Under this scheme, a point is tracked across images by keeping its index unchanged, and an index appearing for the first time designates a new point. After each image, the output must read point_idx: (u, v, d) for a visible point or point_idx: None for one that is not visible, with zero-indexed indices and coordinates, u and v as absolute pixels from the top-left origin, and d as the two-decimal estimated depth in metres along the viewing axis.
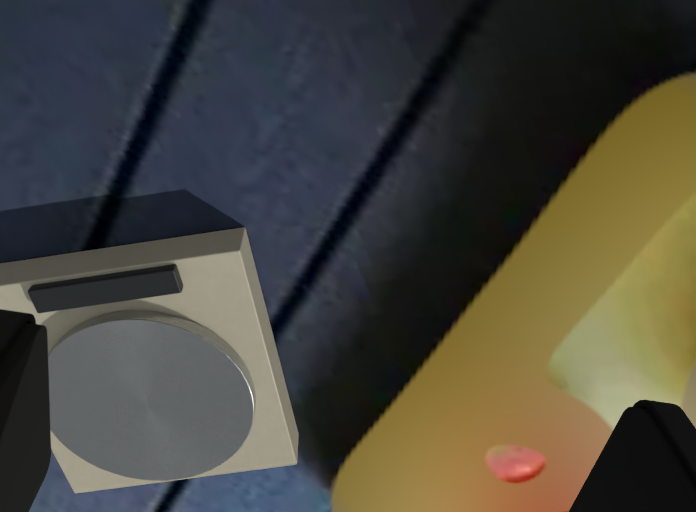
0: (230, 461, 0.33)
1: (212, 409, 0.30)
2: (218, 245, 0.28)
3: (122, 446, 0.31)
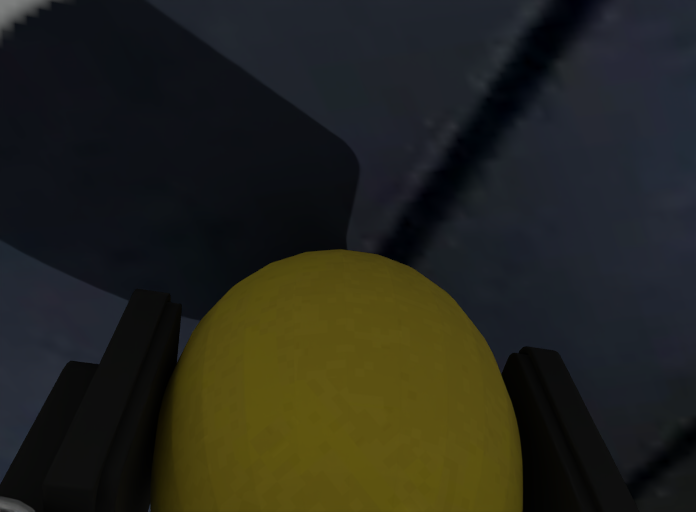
0: None
1: None
2: None
3: None
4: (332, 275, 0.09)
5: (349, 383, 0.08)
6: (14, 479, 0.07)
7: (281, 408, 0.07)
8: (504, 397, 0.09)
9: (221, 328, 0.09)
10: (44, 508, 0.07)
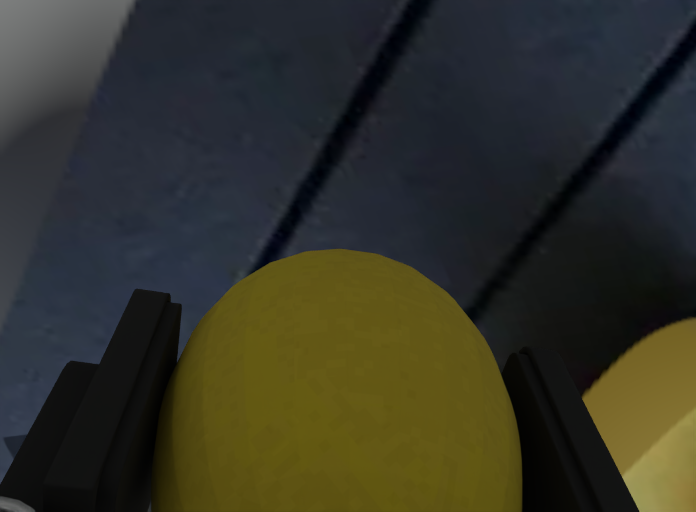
0: None
1: None
2: None
3: None
4: (332, 274, 0.09)
5: (349, 382, 0.08)
6: (14, 479, 0.07)
7: (281, 408, 0.07)
8: (504, 396, 0.09)
9: (221, 327, 0.09)
10: (44, 508, 0.07)
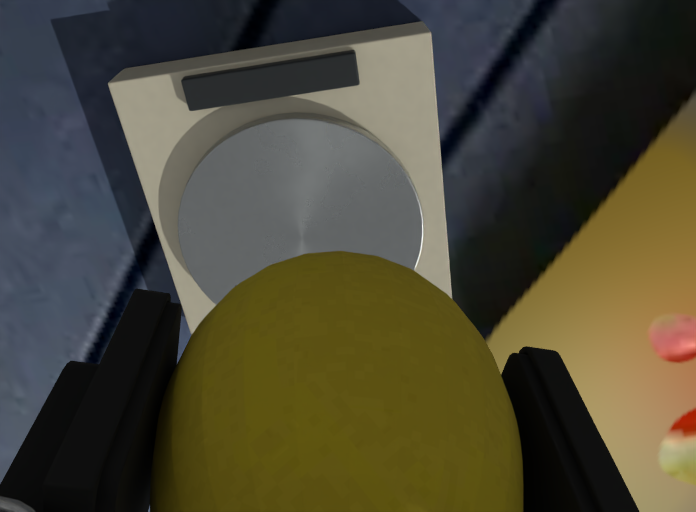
0: None
1: (375, 242, 0.26)
2: (401, 32, 0.24)
3: None
4: (331, 276, 0.09)
5: (350, 386, 0.07)
6: (14, 479, 0.07)
7: (281, 412, 0.07)
8: (505, 399, 0.09)
9: (222, 330, 0.09)
10: (44, 508, 0.07)
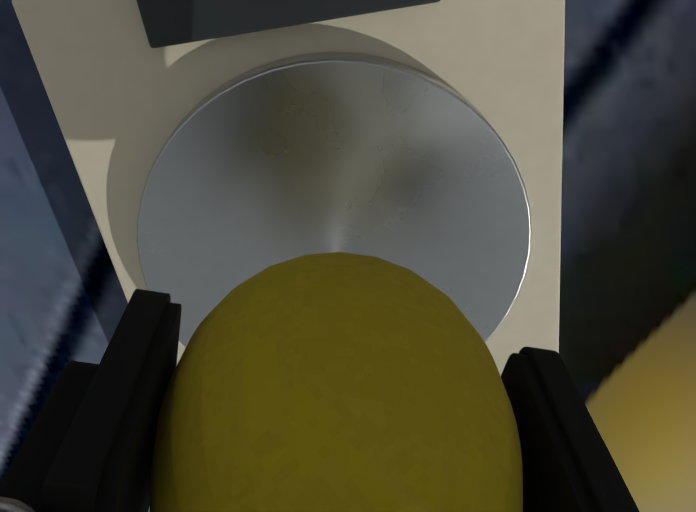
0: None
1: (452, 265, 0.17)
2: None
3: None
4: (331, 278, 0.09)
5: (349, 387, 0.07)
6: (14, 479, 0.07)
7: (280, 413, 0.07)
8: (504, 401, 0.09)
9: (221, 331, 0.09)
10: (44, 508, 0.07)
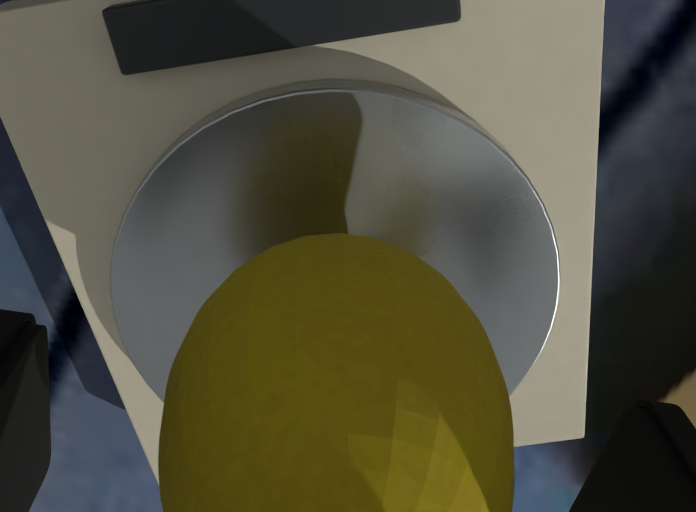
0: None
1: None
2: None
3: None
4: (332, 254, 0.10)
5: (348, 352, 0.08)
6: None
7: (283, 375, 0.08)
8: (496, 371, 0.09)
9: (226, 305, 0.09)
10: None
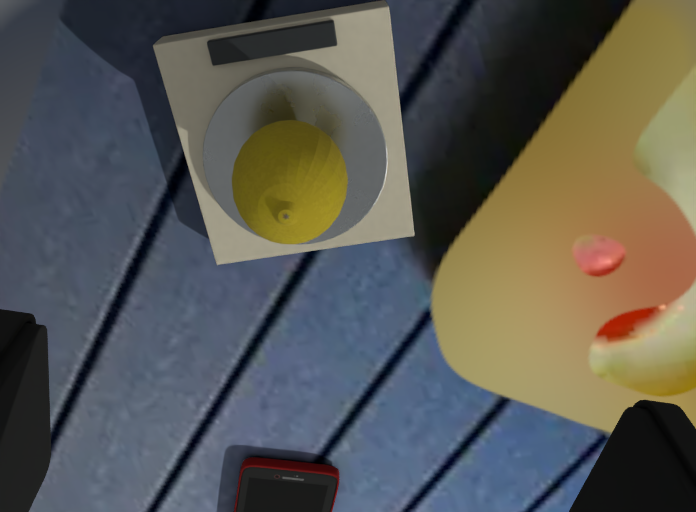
0: (356, 231, 0.38)
1: (351, 167, 0.35)
2: (367, 7, 0.32)
3: None
4: (287, 122, 0.30)
5: (289, 141, 0.28)
6: None
7: (270, 147, 0.28)
8: (338, 157, 0.30)
9: (253, 137, 0.30)
10: None
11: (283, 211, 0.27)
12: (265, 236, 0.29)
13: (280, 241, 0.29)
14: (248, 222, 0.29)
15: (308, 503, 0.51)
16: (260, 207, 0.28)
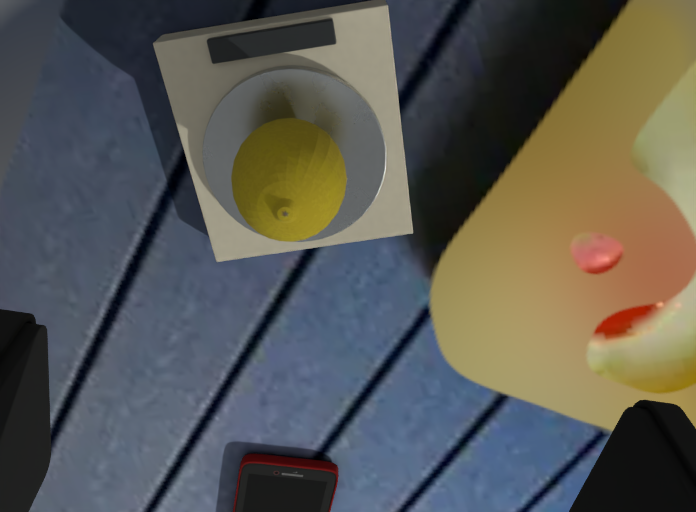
0: (355, 228, 0.38)
1: (350, 165, 0.35)
2: (366, 5, 0.33)
3: None
4: (286, 120, 0.30)
5: (288, 139, 0.28)
6: None
7: (270, 145, 0.28)
8: (337, 155, 0.30)
9: (253, 134, 0.30)
10: None
11: (282, 208, 0.28)
12: (264, 233, 0.29)
13: (279, 238, 0.30)
14: (247, 219, 0.29)
15: (307, 499, 0.51)
16: (260, 205, 0.28)
